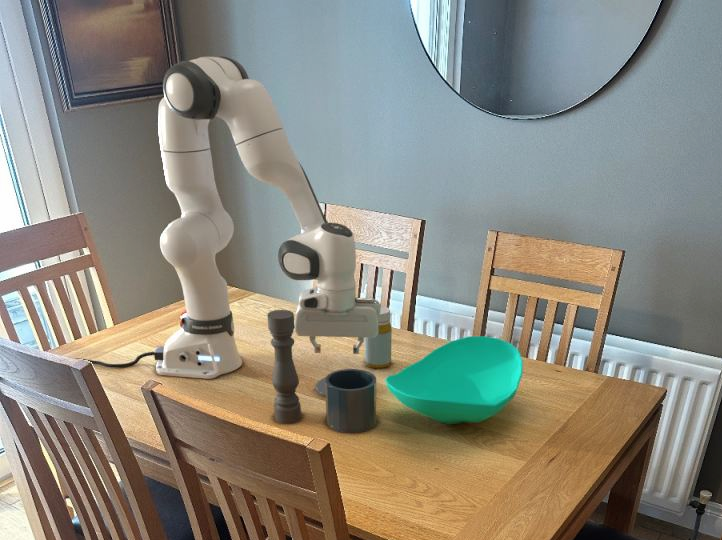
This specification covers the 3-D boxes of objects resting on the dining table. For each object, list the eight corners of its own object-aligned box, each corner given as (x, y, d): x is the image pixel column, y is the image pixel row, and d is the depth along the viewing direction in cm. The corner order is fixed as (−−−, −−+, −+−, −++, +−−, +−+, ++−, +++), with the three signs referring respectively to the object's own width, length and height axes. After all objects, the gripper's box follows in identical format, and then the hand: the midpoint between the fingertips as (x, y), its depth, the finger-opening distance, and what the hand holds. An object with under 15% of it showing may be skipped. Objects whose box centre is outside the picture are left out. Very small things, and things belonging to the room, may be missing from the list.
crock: (325, 433, 166) (324, 390, 160) (327, 409, 176) (326, 368, 170) (376, 432, 167) (376, 390, 160) (375, 409, 176) (375, 368, 170)
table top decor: (447, 374, 193) (450, 325, 186) (542, 402, 180) (550, 351, 172) (355, 431, 167) (354, 377, 159) (458, 469, 154) (463, 413, 146)
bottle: (392, 359, 201) (392, 306, 192) (389, 369, 195) (390, 315, 187) (367, 358, 202) (366, 305, 193) (363, 368, 196) (363, 314, 187)
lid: (314, 400, 180) (313, 382, 177) (317, 379, 190) (316, 362, 187) (366, 400, 180) (365, 382, 177) (365, 379, 190) (365, 361, 188)
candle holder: (305, 413, 174) (299, 311, 160) (294, 425, 169) (287, 320, 155) (281, 409, 176) (273, 307, 161) (270, 421, 171) (261, 317, 156)
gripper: (380, 293, 175) (378, 348, 183) (294, 291, 174) (296, 346, 182) (381, 302, 169) (379, 358, 177) (292, 300, 169) (294, 357, 177)
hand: (336, 352), depth 180 cm, fingers open, 8 cm apart
